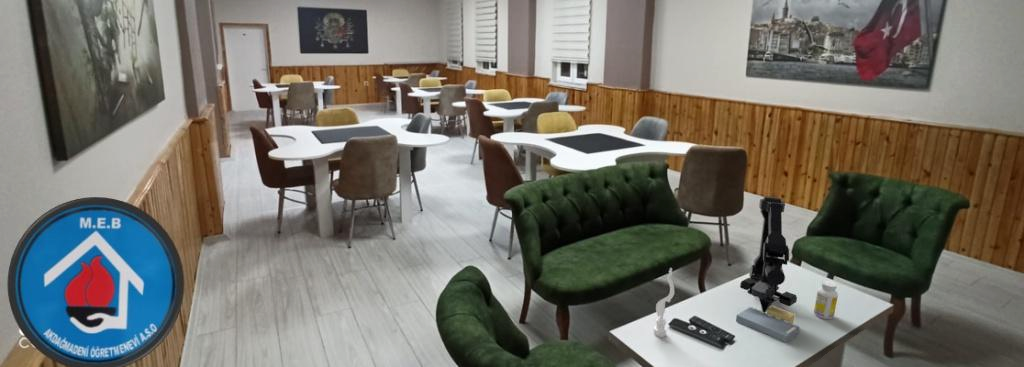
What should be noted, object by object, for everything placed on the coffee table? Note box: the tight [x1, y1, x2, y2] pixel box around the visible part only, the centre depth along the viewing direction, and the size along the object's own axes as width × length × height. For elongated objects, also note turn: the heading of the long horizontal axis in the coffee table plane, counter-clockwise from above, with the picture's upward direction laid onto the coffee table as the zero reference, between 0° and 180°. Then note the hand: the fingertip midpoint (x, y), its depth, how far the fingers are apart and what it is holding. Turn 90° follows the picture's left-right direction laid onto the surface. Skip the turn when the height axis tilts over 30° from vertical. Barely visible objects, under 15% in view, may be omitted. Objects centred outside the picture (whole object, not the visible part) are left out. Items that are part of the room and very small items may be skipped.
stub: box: [766, 305, 796, 324], centre depth 202 cm, size 8×4×4 cm, turn 40°
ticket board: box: [735, 306, 801, 343], centre depth 198 cm, size 18×10×3 cm, turn 40°
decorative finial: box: [653, 267, 675, 338], centre depth 188 cm, size 6×4×25 cm
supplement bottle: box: [813, 280, 839, 320], centre depth 207 cm, size 7×7×13 cm
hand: (764, 312), depth 206 cm, fingers closed
